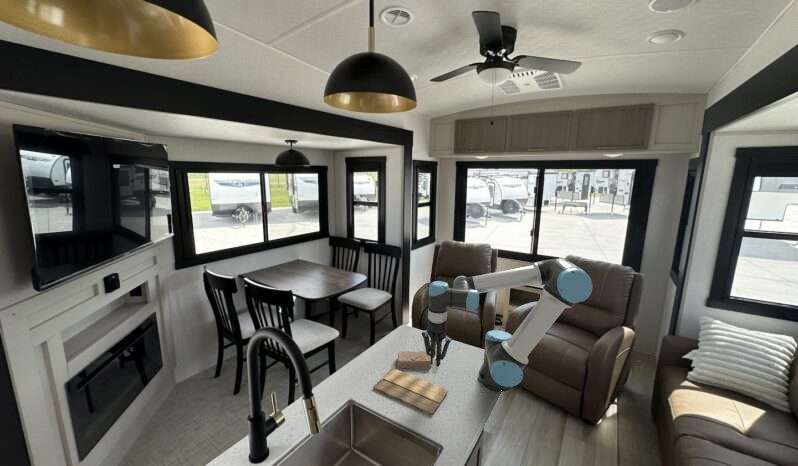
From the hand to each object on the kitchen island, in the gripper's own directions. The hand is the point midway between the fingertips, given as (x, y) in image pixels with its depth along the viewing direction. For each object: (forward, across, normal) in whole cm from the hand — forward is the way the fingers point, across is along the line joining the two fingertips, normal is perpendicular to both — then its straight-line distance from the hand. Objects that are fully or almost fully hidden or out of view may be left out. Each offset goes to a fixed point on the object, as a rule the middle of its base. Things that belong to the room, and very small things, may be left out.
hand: (435, 371), depth 129 cm
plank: (+10, +9, +1) cm, 13 cm away
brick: (+11, +17, -14) cm, 25 cm away
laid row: (+10, +9, +9) cm, 16 cm away
